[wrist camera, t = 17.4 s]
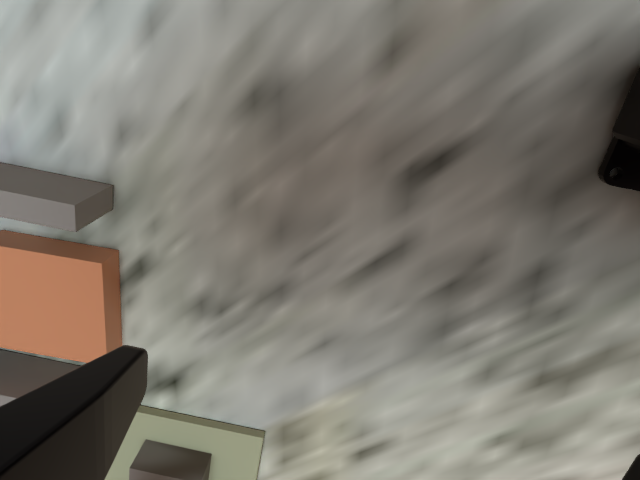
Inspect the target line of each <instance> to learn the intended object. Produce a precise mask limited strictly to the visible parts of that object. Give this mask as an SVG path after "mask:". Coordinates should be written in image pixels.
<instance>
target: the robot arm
mask: <svg viewBox="0 0 640 480" xmlns="http://www.w3.org/2000/svg"><path fill="white" fill-rule="evenodd" d="M613 134H614V137H613V139H612V142H611V144H610V146H609V148H608V151H607V153H606V155H605V157H604V160H603V162H602V164H601V167H600V169H599V173H598V174H599V178H600V179H601V180H602V181H603V182H605V183H607V184H609V185H611V186H616V187H621V188H626V189H632V190H637V191H640V68H639V71H638V73H637V75H636V77H635V80H634V82H633V84H632V87H631V89H630V91H629V93H628V96H627V98H626V100H625V103H624V105H623V107H622V110H621V112H620V114H619V116H618V119H617V121H616V123H615V126H614V128H613ZM614 168H618V173H617V174H616V175H615V176H613V177H610V172H611V171H612V169H614ZM147 367H148V354H147V351H146V350H145V349H143V348H138V347H133V346H129V345H124V346H121V347H118V348H116V349H114V350H112V351H110V352H108V353H106V354H104V355H102V356H100V357H98V358H96V359H94V360H92V361H90V362H88V363H86V364H84V365H82V366H80V367H78V368H76V369H74V370H72V371H70V372H68V373H66V374H64V375H62V376H60V377H58V378H56V379H54V380H52V381H50V382H48V383H46V384H44V385H42V386H40V387H38V388H36V389H34V390H32V391H30V392H28V393H26V394H24V395H22V396H20V397H18V398H16V399H14V400H12V401H10V402H8V403H6V404H4V405H2V406H0V480H105V478H106V476H107V474H108V472H109V470H110V468H111V466H112V464H113V461H114V459H115V457H116V455H117V453H118V451H119V449H120V447H121V444H122V442H123V440H124V438H125V436H126V434H127V432H128V430H129V427H130V425H131V423H132V421H133V419H134V417H135V415H136V412H137V410H138V408H139V406H140V404H141V402H142V400H143V397H144V395H145V392H146V387H147ZM622 480H640V454H639V455H638V456H637V457H636V458H635V460H634V462H633V463H632V465H631V466H630V468H629V469H628V471H627V472H626V474H625V476H624V477H623V479H622Z"/></svg>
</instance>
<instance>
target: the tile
mask: <svg viewBox="0 0 640 480" xmlns="http://www.w3.org/2000/svg"><path fill="white" fill-rule="evenodd" d="M121 346H122V328H121V301H120V274H119V250H115V249H109V248H104V247H98V246H92V245H86V244H81V243H75V242H69V241H63V240H57V239H52V238H46V237H40V236H34V235H29V234H23V233H17V232H11V231H6V230H1V231H0V347H1V348H7V349H13V350H18V351H24V352H29V353H35V354H41V355H46V356H52V357H58V358H63V359H69V360H74V361H80V362H86V363H88V362H90V361H92V360H94V359H96V358H98V357H100V356H102V355H104V354H106V353H108V352H110V351H112V350H114V349H116V348H118V347H121Z"/></svg>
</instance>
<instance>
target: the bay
mask: <svg viewBox="0 0 640 480" xmlns="http://www.w3.org/2000/svg"><path fill="white" fill-rule="evenodd" d="M112 209H113V185H109V184H104V183H99V182H94V181H89V180H85V179H80V178H75V177H70V176H65V175H60V174H55V173H50V172H45V171H40V170H35V169H30V168H25V167H20V166H15V165H10V164H5V163H0V217H4V218H9V219H14V220H19V221H23V222H28V223H33V224H38V225H43V226H48V227H53V228H58V229H63V230H68V231H73V232H77V231H78V230H80V229H82V228H83V227H85V226H86V225H88V224H90V223H91V222H93V221H95V220H96V219H98V218H99V217H101V216H103V215H104V214H106V213H107V212H109V211H111V210H112ZM78 367H80V366H77V365H73V364H68V363H63V362H58V361H53V360H48V359H44V358H39V357H34V356H29V355H24V354H19V353H15V352H10V351H5V350H0V406H2V405H4V404H6V403H8V402H10V401H12V400H14V399H16V398H18V397H20V396H22V395H24V394H26V393H28V392H30V391H32V390H34V389H36V388H38V387H40V386H42V385H44V384H46V383H48V382H50V381H52V380H54V379H56V378H58V377H60V376H62V375H64V374H66V373H68V372H70V371H72V370H74V369H76V368H78Z"/></svg>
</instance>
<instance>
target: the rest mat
mask: <svg viewBox="0 0 640 480" xmlns="http://www.w3.org/2000/svg"><path fill="white" fill-rule="evenodd" d="M264 434H265V431H261V430H256V429H251V428H246V427H242V426H237V425H232V424H227V423H222V422H218V421H213V420H208V419H203V418H198V417H194V416H189V415H184V414H179V413H174V412H170V411H165V410H160V409H155V408H150V407H146V406H141V405H140V406H139V408H138V410H137V412H136V415H135V417H134V419H133V421H132V423H131V425H130V427H129V430H128V432H127V434H126V436H125V438H124V440H123V442H122V444H121V447H120V449H119V451H118V453H117V455H116V457H115V459H114V461H113V464H112V466H111V468H110V470H109V472H108V474H107V476H106V478H105V480H129V468H130V466H131V464H132V463H133V461H134V459H135V457H136V456H137V454H138V452H139V450H140V448H141V447H142V445H143V443H144V441H145V440H146V439H147V440H152V441H156V442H161V443H165V444H170V445H174V446H179V447H184V448H188V449H193V450H197V451H202V452H206V453H211V454H212V456H211V464H210V471H209V479H208V480H257V474H258V469H259V463H260V457H261V451H262V446H263V440H264Z"/></svg>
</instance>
